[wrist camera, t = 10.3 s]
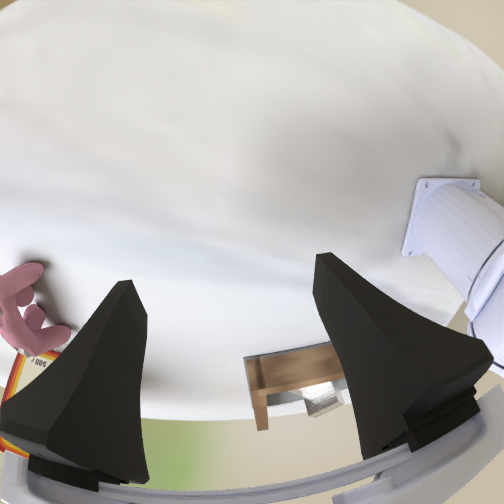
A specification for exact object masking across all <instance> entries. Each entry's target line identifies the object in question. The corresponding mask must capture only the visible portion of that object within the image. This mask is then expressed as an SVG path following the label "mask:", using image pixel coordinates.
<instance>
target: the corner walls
mask: <svg viewBox="0 0 504 504" xmlns="http://www.w3.org/2000/svg"><path fill="white" fill-rule="evenodd" d="M330 342H331V341H330ZM328 344H329V343H328ZM315 346H316V345H315ZM300 349H301V348H300ZM293 350H294V349H293ZM290 351H292V350H290ZM270 354H271V353H270ZM273 354H274V353H273ZM273 354H272V355H273ZM277 354H278V353H277ZM264 355H265V354H264ZM264 355H263V358H257V357H258V356H259V355H257V357H256V356H254V357H256V358H257V359H253V358H254V357H253V356H252V359H251V358H250V359H249V358H248V359H249V360H246V367H247V373H248V380H249V386H250V392H251V397H252V403H253V408H254V414H255V419H256V424H257V430H258V431H261V430H267V429H268V415H267V400H266V395H268V394H274V393H279V392H285V391H290V390H295V389H300V388H304V387H309V386H313V385H318V384H322V383H326V382H330V381H334V380H338V379H341V378H345V375H344V372H343V369H342V366H341V363H340V361H339V358H338V356H337V353H336V351H335V349H334V347H333V344H330V345H325V346H321V347H316V348H315V347H314V348H312V349H307V350H302V351H297V352H296V351H295V352H294V351H293V352H292V353H290V352H289V353H286V354H281V355H279V354H278V355H275V356H270V355H269V356H268V357H267V356H266V357H264ZM267 355H268V354H267ZM261 357H262V356H261ZM246 358H247V357H246Z"/></svg>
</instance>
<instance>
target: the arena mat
mask: <svg viewBox="0 0 504 504" xmlns="http://www.w3.org/2000/svg"><path fill="white" fill-rule="evenodd" d="M328 343H329V344H328ZM330 344H332V342H326V343H321V344H317V345H316V346H315V345H312V346H307V347H302V348H301V349H300V348H297V349H294V350H293V349H292V351H290V350H287V351H281V352H276V353H274V354H273V353H271V354H268V355H267V354H265V355H264V357H266V356H267V357H268V356H269V355H270V356H275V355H278V354H279V355H281V354H286V353H289V352H290V353H292V352H293V351H294V352H295V351H296V352H297V351H302V350H307V349H312V348H314V347H315V348H316V347H321V346H325V345H330ZM277 353H278V354H277ZM272 354H273V355H272ZM261 356H262V357H261ZM253 357H254V356H253ZM256 357H257V356H256ZM256 357H254V358H253V359H257V358H263V355H259V356H258V357H257V358H256ZM248 358H249V359H250V358H251V359H252V356H251V357H247V358H246V357H244V358H243V359H244V365H245V371H246V376H247V382H248V387H249V392H250V386H249V380H248V373H247V367H246V360H249V359H248ZM336 381H337V384H338V386H339V389H340V390H343V389H347V388H348V386H347V382H346V379H345V378H341V379H338V380H336ZM250 398H251V403H252V397H251V392H250ZM303 399H304V397H302V396H299V395H296V394H293V393H291V392H288V391H285V392H279V393H274V394H268V395H266V400H267V406H273V405H278V404H284V403H289V402H294V401H299V400H303ZM252 408H253V403H252ZM253 409H254V408H253Z"/></svg>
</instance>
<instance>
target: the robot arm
mask: <svg viewBox="0 0 504 504" xmlns="http://www.w3.org/2000/svg"><path fill="white" fill-rule="evenodd" d="M426 183H427V184H426ZM425 184H426V185H425ZM480 186H481V181H480V180H479V179H464V178H420V179H419V180H418V181H417V185H416V190H415V195H414V200H413V205H412V210H411V215H410V219H409V223H408V228H407V232H406V236H405V240H404V244H403V247H402V251H401V255H402V256H403V257H404V258H406V257H411V256H416V255H421V254H426V255H427V256H428V257H429V258H430V259H431V260H432V261H433V262H434V264H435V265H436V266H437V267H438V268H439V269H440V270H441V271H442V273H443V274H444V275H445V276H446V277H447V278H448V280H449V281H450V282H451V283H452V284H453V286H454V287H455V288H456V289H457V291H458V292H459V293H460V294H461V296H462V297H463V298H464V299H465V301H466V302H467V303H468V305H467V307H466V309H465V310H464V312H465V314H466V315H467V316H468V317H469V319H470V321H469V322H468V325H467V335H465V334H462V333H459V332H456V331H454V330H451V329H449V328H447V327H444V326H442V325H440V324H437V323H435V322H433V321H431V320H429V319H427V318H425V317H423V316H421V315H419V314H417V313H415V312H413V311H412V310H410V309H408V308H407V307H405V306H403V305H402V304H400V303H398V302H397V301H395V300H394V299H392V298H390V297H389V296H388V295H386V294H385V293H383V292H382V291H380V290H379V289H378V288H376V287H375V286H373V285H372V284H371V283H369V282H368V281H367V280H366V279H364V278H363V277H362V276H360V275H359V274H358V273H357V272H355V271H354V270H353V269H352V268H350V267H349V266H348V265H347V264H345V263H344V262H343V261H342V260H340V259H339V258H338V257H337V256H335V255H334V254H333V253H331V252H328V253H322V254H316V262H315V273H314V283H313V296H314V299H315V303H316V306H317V309H318V312H319V315H320V317H321V320H322V322H323V324H324V326H325V329H326V331H327V333H328V335H329V338H330V340H331V342H332V344H333V347H334V349H335V351H336V353H337V356H338V358H339V361H340V363H341V366H342V369H343V372H344V375H345V379H346V382H347V386H348V389H349V393H350V397H351V401H352V405H353V409H354V414H355V418H356V422H357V428H358V434H359V440H360V446H361V454H362V457H363V460H364V461H361V462H359V463H356V464H353V465H350V466H346V467H343V468H340V469H337V470H333V471H330V472H326V473H323V474H319V475H315V476H311V477H307V478H302V479H298V480H293V481H288V482H282V483H277V484H271V485H264V486H257V487H248V488H239V489H227V490H207V491H178V490H177V491H176V490H158V489H146V488H137V487H128V486H121V485H120V483H123V484H129V483H137V484H145V483H146V482H148V480H149V479H150V478H149V475H148V470H147V465H146V460H145V454H144V447H143V439H142V430H141V416H140V386H141V377H142V369H143V362H144V355H145V348H146V341H147V316H148V315H147V313H146V311H145V309H144V307H143V304H142V302H141V300H140V298H139V296H138V293H137V291H136V289H135V286H134V284H133V282H132V280H125V281H118V282H117V283H116V284H115V286H114V287H113V288H112V289H111V291H110V292H109V293H108V295H107V296H106V297H105V299H104V300H103V301H102V303H101V304H100V305H99V307H98V308H97V309H96V311H95V312H94V313H93V315H92V316H91V317H90V319H89V320H88V321H87V322H86V324H85V325H84V326H83V327H82V329H81V330H80V331H79V333H78V334H77V335H76V336H75V338H74V339H73V340H72V341H71V342H70V344H69V345H68V346H67V347H66V348H65V349H64V350H63V351H62V353H61V354H60V355H59V356H58V357H57V358H56V359H55V360H54V361H53V362H52V363H51V364H50V365H49V366H48V367H47V368H46V369H45V370H44V371H43V372H42V373H41V374H39V375H38V376H37V377H36V378H35V379H34V380H33V381H31V382H30V383H29V384H28V385H27V386H25V387H24V388H23V389H21V390H20V391H19V392H17V393H16V394H15V395H13V396H12V397H10V398H9V399H7V400H6V401H4V402H3V403H2V405H1V409H0V436H1V437H2V438H3V439H5V440H6V441H8V442H10V443H11V444H13V445H15V446H16V447H18V448H20V449H21V450H23V451H25V452H27V453H29V459H27V458H24V457H22V456H20V455H17V454H15V453H13V452H10V451H8V450H5V452H4V459H3V468H2V478H1V479H2V480H1V500H2V501H4V502H5V503H7V504H266V503H272V502H279V501H284V500H289V499H295V498H299V497H304V496H308V495H312V494H316V493H320V492H324V491H327V490H331V489H335V488H338V487H341V486H345V485H348V484H351V483H354V482H357V481H359V480H362V479H365V478H367V477H370V476H372V475H375V474H377V475H376V476H375V477H374V480H373V482H372V483H370V484H367V485H364V486H361V487H358V488H355V489H353V490H349V491H347V492H343V493H340V494H337V495H334V496H333V497H332V500H333V504H442V503H444V502H445V501H446V500H448V499H449V498H450V497H451V496H453V495H454V494H455V493H456V492H458V491H459V490H460V489H461V488H462V487H464V486H465V485H466V484H467V483H468V482H469V481H470V480H472V479H473V478H474V477H475V476H476V475H477V474H478V473H479V472H480V471H481V470H482V469H483V468H484V467H485V466H486V465H487V464H488V463H490V462H491V461H492V460H493V459H494V458H495V457H496V456H497V455H498V454H499V453H500V452H501V451H502V449H504V392H503V390H502V388H501V386H500V385H499V384H498V385H496V386H495V387H494V388H492V389H491V390H490V391H488V392H487V393H486V394H484V395H483V396H482V397H480V398H479V399H478V400H475V398H474V395H475V394H476V392H477V391H476V389H475V387H474V384H475V383H476V382H477V381H478V380H479V379H480V378H481V377H482V376H483V375H484V374H485V373H486V372H487V370H488V369H489V370H491V371H493V372H495V373H497V374H498V375H500V376H501V377H502V378H504V207H502V206H501V205H500V204H498V203H497V202H496V201H494V200H493V199H492V198H490V197H489V196H487V195H486V194H484V193H483V192H482V191H480Z"/></svg>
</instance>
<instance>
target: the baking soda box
mask: <svg viewBox="0 0 504 504" xmlns="http://www.w3.org/2000/svg"><path fill="white" fill-rule="evenodd" d="M60 354H61V353H60V352H56V351H53V350H49V351H47V352H45V353H43V354H41V355H39V356H37V357H33V356H31V357H30V358H26V357H25V355H23V354H21V353H19V352H18V353H17V356H16V359H15V361H14V364H13V367H12V370H11V373H10V376H9V379H8V382H7V385H6V388H5V392H4V395H3V399H2V402H1V405H2V403H3V402H4V401H6V400H7V399H9V398H10V397H12V396H13V395H15V394H16V393H17V392H19V391H20V390H21V389H23V388H24V387H25V386H27V385H28V384H29V383H30V382H31V381H33V380H34V379H35V378H36V377H37V376H38V375H39V374H41V373H42V372H43V371H44V370H45V369H46V368H47V367H48V366H49V365H50V364H51V363H52V362H53V361H54V360H55V359H56V358H57V357H58V356H59V355H60ZM0 409H1V406H0ZM5 450H8V451H10V452H13V453H15V454H17V455H20V456H22V457H24V458H27V459H29V453H27V452H25V451H23V450H21V449H20V448H18V447H16V446H15V445H13V444H11V443H10V442H8V441H6V440H5V439H3V438H2V437H1V436H0V452H1V453H3V454H4V452H5Z"/></svg>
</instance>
